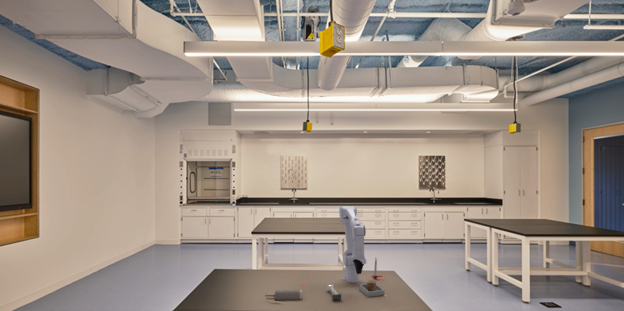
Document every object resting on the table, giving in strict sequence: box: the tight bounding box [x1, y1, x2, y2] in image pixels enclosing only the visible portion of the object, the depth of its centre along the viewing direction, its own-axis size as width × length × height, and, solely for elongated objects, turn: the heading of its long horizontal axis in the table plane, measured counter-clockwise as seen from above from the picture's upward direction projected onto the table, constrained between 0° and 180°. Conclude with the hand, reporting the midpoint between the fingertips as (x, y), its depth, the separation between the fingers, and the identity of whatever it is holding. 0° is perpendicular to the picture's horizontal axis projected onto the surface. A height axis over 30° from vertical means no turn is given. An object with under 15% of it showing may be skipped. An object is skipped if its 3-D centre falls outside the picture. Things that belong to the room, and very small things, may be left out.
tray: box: [359, 283, 385, 297], centre depth 180 cm, size 11×9×2 cm
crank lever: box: [326, 283, 342, 301], centre depth 176 cm, size 15×4×3 cm, turn 12°
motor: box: [264, 282, 306, 302], centre depth 181 cm, size 23×22×5 cm
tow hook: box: [371, 257, 386, 281], centre depth 203 cm, size 8×13×9 cm
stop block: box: [366, 279, 377, 291], centre depth 180 cm, size 4×4×5 cm
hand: (358, 273), depth 184 cm, fingers closed
